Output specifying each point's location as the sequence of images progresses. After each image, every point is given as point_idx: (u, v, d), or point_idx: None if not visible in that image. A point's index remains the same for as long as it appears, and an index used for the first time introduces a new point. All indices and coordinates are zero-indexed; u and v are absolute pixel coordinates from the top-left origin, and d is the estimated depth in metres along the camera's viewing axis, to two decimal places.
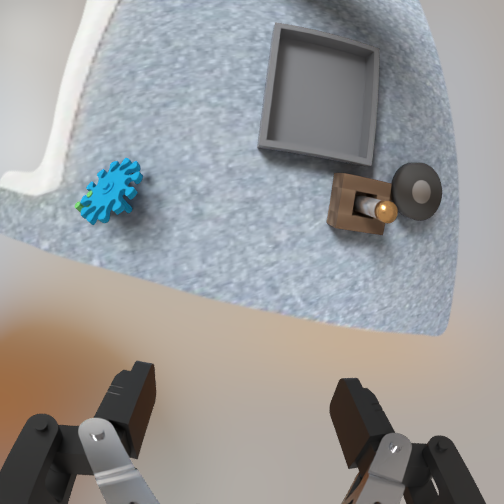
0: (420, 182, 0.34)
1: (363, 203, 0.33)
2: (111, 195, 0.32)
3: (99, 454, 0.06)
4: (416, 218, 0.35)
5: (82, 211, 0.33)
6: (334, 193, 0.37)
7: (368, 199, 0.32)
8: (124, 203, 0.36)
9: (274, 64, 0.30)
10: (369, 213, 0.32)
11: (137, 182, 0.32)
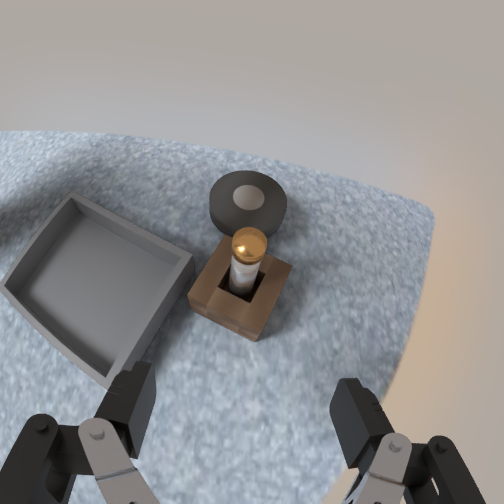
0: (235, 195, 0.29)
1: (235, 279, 0.23)
2: None
3: (99, 454, 0.06)
4: (281, 213, 0.29)
5: None
6: (215, 318, 0.26)
7: (231, 271, 0.23)
8: None
9: (31, 317, 0.21)
10: (249, 274, 0.22)
11: None
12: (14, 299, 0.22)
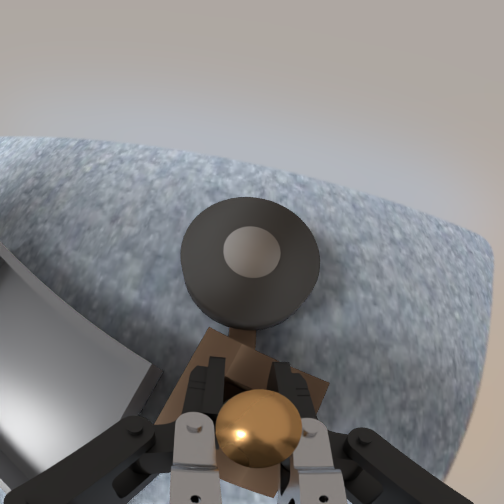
0: (228, 247, 0.16)
1: None
2: None
3: (205, 446, 0.07)
4: (312, 281, 0.16)
5: None
6: None
7: None
8: None
9: None
10: None
11: None
12: None
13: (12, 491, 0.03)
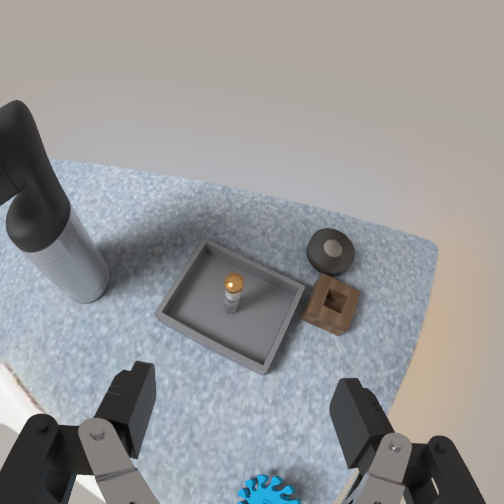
0: (325, 247, 0.47)
1: (227, 300, 0.39)
2: None
3: (99, 454, 0.06)
4: (352, 258, 0.46)
5: None
6: (318, 323, 0.44)
7: (224, 295, 0.39)
8: None
9: (196, 333, 0.39)
10: (235, 298, 0.38)
11: (281, 482, 0.28)
12: (176, 322, 0.39)
13: None
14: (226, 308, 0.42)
